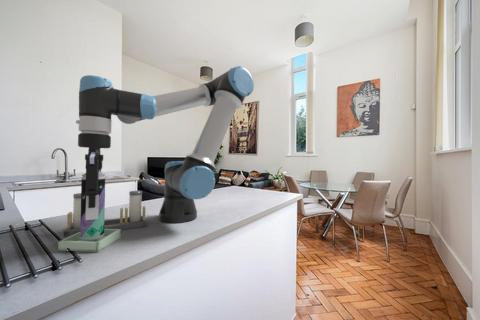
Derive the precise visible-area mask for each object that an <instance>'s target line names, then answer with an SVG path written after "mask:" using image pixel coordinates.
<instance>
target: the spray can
mask: <svg viewBox="0 0 480 320" xmlns="http://www.w3.org/2000/svg"><path fill="white" fill-rule="evenodd" d="M81 176H82V177H81V186H80V187H81V188H80V189H81V191H80V193H81V223H80V239H81V240H83V241H89V240H95V239H99V238H101V237H103V236H104V226H105V225H104V220H105V213H106V212H105V211H106V208H105V206H106V205H105V204H106V203H105V202H106V174H104V173H103V172H102V171H101V172H99V180H98V195H99V203H98V219H93V220H86V196H83V193H85V189H86V172H85V173H84V174H83V173H82V175H81Z"/></svg>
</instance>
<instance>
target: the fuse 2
mask: <svg viewBox="0 0 480 320" xmlns="http://www.w3.org/2000/svg"><path fill="white" fill-rule="evenodd" d="M128 195H129V203H128V205H129V206H128V208H129V209H128V217H129V222H128V223H135V222H141V216H142V201H143V200H142V199H143V198H142V197H143V196H142V195H143V191H142V190H130V191H129V192H128Z"/></svg>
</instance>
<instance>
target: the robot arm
mask: <svg viewBox="0 0 480 320" xmlns="http://www.w3.org/2000/svg"><path fill="white" fill-rule="evenodd" d="M254 88H255V83H254V80H253V76H252V74H251V73H250V71H248V69H247V68H245V67H243V66H241V65H240V66H239V65H237V66H235V67H230V69H229V70H227V71H225V72H224V73H222V74H220V75H219V76H218V77H216V78H214V79H212V80H210V81H208V82H206V83H201V84H199V86H198V87H194V88H188V89H183V90H182V89H181V90H179V91H178V90H177V91H172V92H167V93H163V94H161V93H160V94H158V95H148V94H145V93H138V92H135V91H134V92H133V91H127V90H122V89H117V88H114V86H113V83H112V81H111V80H110V79H108V78H105V77H101V76H99V75H92V74H91V75H90V74H89V75H84V76H82V77H81V78H80V80H79V89H78V119H76V121H75V123H76V124H77V125H78V131H79V132H81V133H79V134H78V135H77V137H78V138H77V146H78V147H79V148H84V149H85V148H88V151H87V152H88V153H87V154H85V153H84V154H85V155H84V160H85V173H86V189H85V193H83V196H86V220H93V219H98V203H99V195H98V180H99V172H101V173H102V170H103V161H104V154H101V149H110V148H111V147H112V145H111V143H112V142H111V141H112V137H111V135H110V134H112V122H113V121H112V115H113V116H116V117H117V118H118V120H119V121H120V122H122V123H123V124H126V125H132V124H135V123H137V122H141V121H143V120H144V121H145V120H153V119H155V117H156V118H157V117H160V116H164V115H168V114H173V113H177V112H180V111H185V110H189V109H192V108H196V107H201V106H203V107H210V106H212V108H211V111H210V113H209V115H208V117H207V120H206V122H205V124H204V126H203V129H202V130H201V133H200V135H199V138H198V139H197V141H196V144H195V146H194V149H193V151H192V153H190V154H188V155H186V157H184V160H177V161H176V160H175V161H168V162H166V164H165V165H164V166H165V167H164V193H163V194H164V195H163V196H164V197H163V198H164V199H163V202H162V204H161V207H160V210H159V213H158V219H159V221H160V222H161V221H162V222H165V223H176V224H177V223H178V224H179V223H186V222H191V221H194V220H196V219H197V218H198V209H197V206H196V203H195V200H201V199H204V198H206V197H208V196H209V195H210V194H211V193H212V191H213V190H214V188H215V184H216V178H215V172H216V169H217V168H216V166H215V161H216V158H217V155H218V154H219V151H220V149H221V146H222V143H223V141H224V139H225V137H226V134H227V133H228V129H229V127H230V124H231V122H232V120H233V117H234V115H235V112H236V111H237V110H238V109H240V108H241V107H242V106H243V103H244V101H245V98H246V97H249V96H250V95H251V94H252V93H253V92H254Z"/></svg>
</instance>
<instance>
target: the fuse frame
mask: <svg viewBox="0 0 480 320" xmlns="http://www.w3.org/2000/svg"><path fill="white" fill-rule="evenodd" d="M128 208H129V207H124V208H123V207H121V208H119V209H120V210H119V211H120V212H119V217H118V218H110V219H108V218H107V219H104V229H121V231H122V230H129V229H139V228H146V227H147V225H148V223H147V219H146V210H147V209H146V206H142V208H141V222H135V223H129V209H128ZM66 218H67V221H66V224H67V225H66V228H65V230H64V231H63V238H64V237H65V238H67V237H70V236H72V235H74V234H76V233H78V232H80V229H73V212H72V211H71V212H70V211H69V212H68V213H67V217H66Z"/></svg>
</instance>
